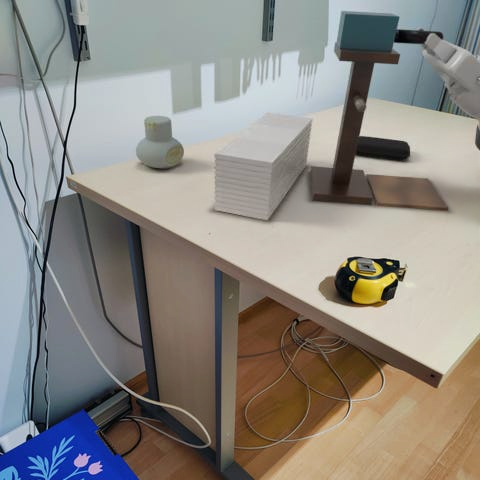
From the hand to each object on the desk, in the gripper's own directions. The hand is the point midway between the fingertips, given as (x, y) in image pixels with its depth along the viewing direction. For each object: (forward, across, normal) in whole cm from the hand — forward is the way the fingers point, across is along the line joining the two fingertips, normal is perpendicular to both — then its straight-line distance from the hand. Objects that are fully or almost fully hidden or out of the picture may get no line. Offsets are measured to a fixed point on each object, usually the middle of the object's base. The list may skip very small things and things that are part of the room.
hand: (422, 34), depth 74 cm
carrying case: (-18, +26, -23) cm, 39 cm away
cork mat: (-18, 0, -22) cm, 29 cm away
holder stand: (-6, 0, -29) cm, 30 cm away
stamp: (+3, 0, -5) cm, 6 cm away
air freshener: (+29, +6, -50) cm, 58 cm away
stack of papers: (+8, -2, -37) cm, 38 cm away
